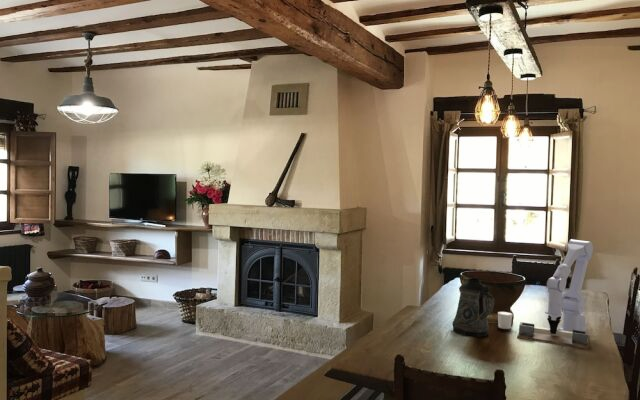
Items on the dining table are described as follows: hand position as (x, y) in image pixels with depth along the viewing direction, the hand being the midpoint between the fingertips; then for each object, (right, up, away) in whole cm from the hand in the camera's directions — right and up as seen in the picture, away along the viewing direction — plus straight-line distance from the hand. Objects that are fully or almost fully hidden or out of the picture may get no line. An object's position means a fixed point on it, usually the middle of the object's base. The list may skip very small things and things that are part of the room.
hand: (553, 332), depth 251 cm
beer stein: (-37, 0, 0) cm, 37 cm away
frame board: (-4, -2, -8) cm, 9 cm away
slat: (0, -2, 0) cm, 2 cm away
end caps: (-4, -2, -8) cm, 9 cm away
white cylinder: (-19, -1, +11) cm, 22 cm away
